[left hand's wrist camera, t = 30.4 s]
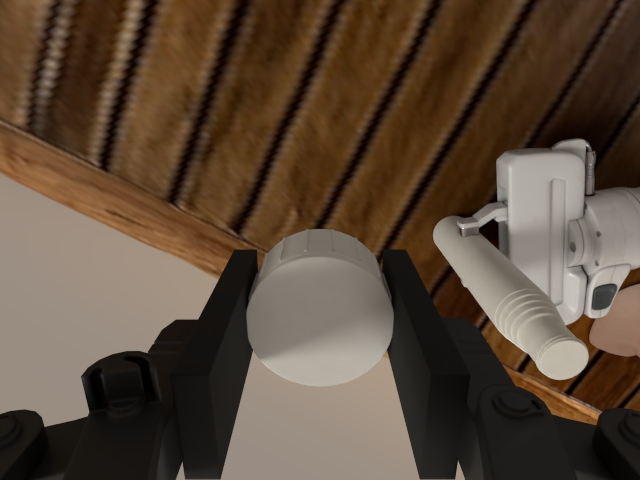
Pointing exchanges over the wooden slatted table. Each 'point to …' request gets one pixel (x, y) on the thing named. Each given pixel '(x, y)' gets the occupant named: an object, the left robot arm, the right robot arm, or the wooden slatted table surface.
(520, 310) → the bottle
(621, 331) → the anatomical model
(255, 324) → the cap
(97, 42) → the wooden slatted table surface
